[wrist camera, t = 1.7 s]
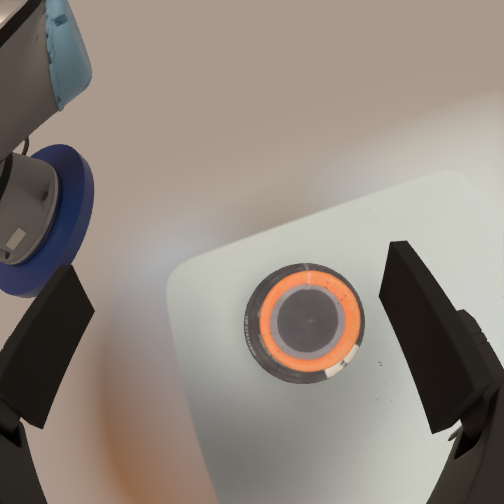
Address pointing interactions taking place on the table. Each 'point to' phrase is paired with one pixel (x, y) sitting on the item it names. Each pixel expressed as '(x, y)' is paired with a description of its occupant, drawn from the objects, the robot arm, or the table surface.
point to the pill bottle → (304, 323)
